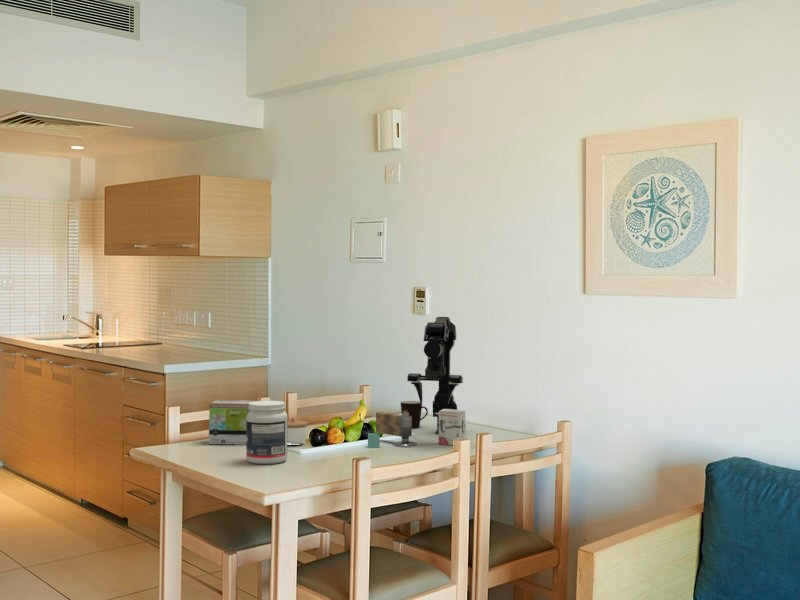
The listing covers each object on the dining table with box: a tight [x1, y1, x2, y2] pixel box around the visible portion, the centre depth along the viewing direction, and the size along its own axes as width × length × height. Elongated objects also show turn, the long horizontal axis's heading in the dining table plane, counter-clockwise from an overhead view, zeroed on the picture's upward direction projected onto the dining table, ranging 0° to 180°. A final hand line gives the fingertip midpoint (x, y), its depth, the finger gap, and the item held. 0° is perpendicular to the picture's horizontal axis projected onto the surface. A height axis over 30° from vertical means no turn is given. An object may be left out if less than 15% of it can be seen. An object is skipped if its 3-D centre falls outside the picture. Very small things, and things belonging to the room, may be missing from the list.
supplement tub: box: [245, 400, 289, 465], centre depth 271 cm, size 13×13×18 cm
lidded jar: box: [287, 417, 309, 445], centre depth 301 cm, size 11×11×9 cm
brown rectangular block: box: [375, 411, 413, 438], centre depth 304 cm, size 16×4×7 cm, turn 44°
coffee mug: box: [399, 400, 429, 430], centre depth 338 cm, size 12×9×10 cm
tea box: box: [208, 399, 256, 446], centre depth 304 cm, size 15×10×15 cm, turn 92°
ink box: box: [438, 409, 467, 446], centre depth 303 cm, size 9×5×12 cm, turn 62°
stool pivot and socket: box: [367, 432, 418, 449], centre depth 300 cm, size 11×17×4 cm, turn 84°
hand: (434, 403), depth 300 cm, fingers open, 9 cm apart
